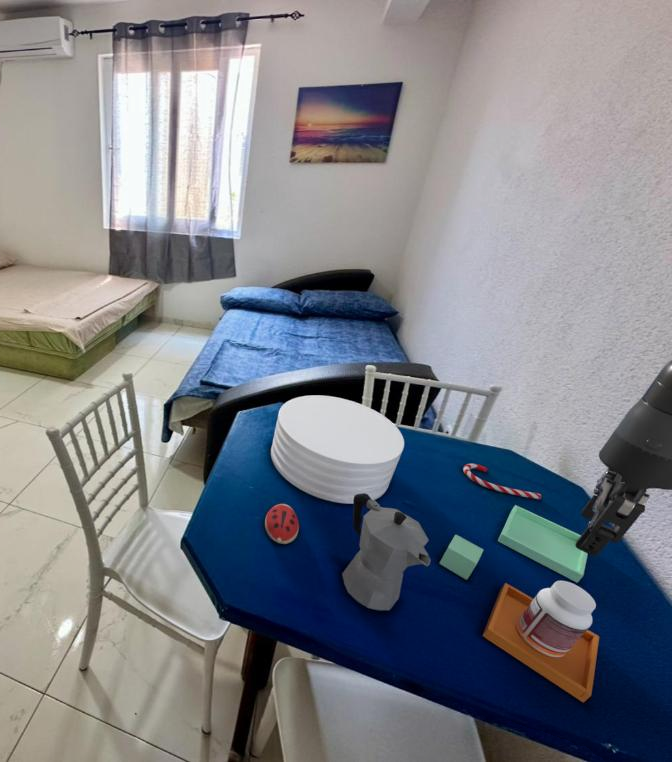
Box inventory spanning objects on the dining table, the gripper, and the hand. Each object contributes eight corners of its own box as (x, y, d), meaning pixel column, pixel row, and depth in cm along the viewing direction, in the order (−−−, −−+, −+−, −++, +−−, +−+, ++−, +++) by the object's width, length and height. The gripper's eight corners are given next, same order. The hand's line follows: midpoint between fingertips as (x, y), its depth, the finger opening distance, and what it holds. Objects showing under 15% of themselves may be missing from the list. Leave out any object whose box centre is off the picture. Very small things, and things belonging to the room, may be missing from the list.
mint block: (473, 565, 77) (483, 549, 75) (466, 580, 74) (477, 563, 72) (446, 550, 80) (455, 534, 78) (438, 563, 77) (447, 547, 75)
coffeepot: (420, 615, 68) (461, 541, 59) (373, 630, 66) (410, 555, 57) (357, 541, 81) (384, 472, 72) (316, 551, 79) (339, 481, 70)
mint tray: (584, 546, 82) (590, 539, 81) (577, 583, 74) (583, 575, 73) (510, 511, 90) (515, 504, 89) (497, 541, 82) (502, 534, 81)
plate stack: (282, 420, 119) (289, 385, 113) (388, 448, 108) (402, 412, 103) (259, 478, 96) (266, 439, 91) (389, 521, 86) (407, 480, 80)
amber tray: (592, 643, 65) (599, 636, 64) (583, 703, 58) (591, 695, 57) (500, 590, 73) (505, 582, 72) (482, 636, 65) (487, 628, 64)
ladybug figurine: (298, 514, 87) (301, 502, 85) (297, 551, 78) (300, 539, 77) (266, 506, 88) (269, 494, 87) (262, 542, 80) (264, 529, 78)
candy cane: (543, 503, 90) (463, 475, 98) (540, 507, 91) (461, 479, 98) (540, 484, 96) (464, 459, 103) (537, 488, 97) (462, 463, 104)
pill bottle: (575, 656, 62) (616, 613, 57) (541, 661, 62) (579, 618, 56) (537, 616, 68) (571, 574, 63) (505, 621, 67) (537, 578, 62)
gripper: (714, 484, 43) (623, 582, 50) (702, 432, 51) (626, 523, 59) (614, 449, 47) (545, 544, 55) (619, 408, 56) (559, 495, 64)
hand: (587, 533), depth 57 cm, fingers open, 8 cm apart
